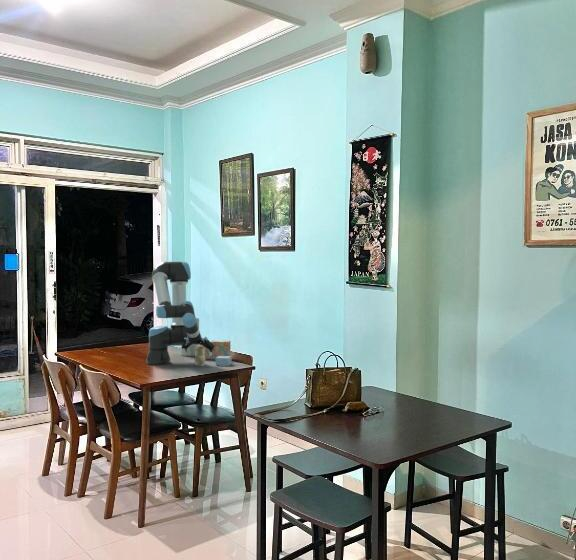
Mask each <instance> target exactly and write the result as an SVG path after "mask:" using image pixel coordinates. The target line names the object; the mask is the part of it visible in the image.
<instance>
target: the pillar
mask: <svg viewBox="0 0 576 560" xmlns="http://www.w3.org/2000/svg"><path fill="white" fill-rule="evenodd" d="M205 362H206V359H205V347H204V346H202V345H197V346H195V356H194V366H195V365H198V366H197V367H203V366H205V365H206V363H205ZM204 364H205V365H204Z"/></svg>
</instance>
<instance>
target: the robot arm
mask: <svg viewBox="0 0 576 560" xmlns="http://www.w3.org/2000/svg"><path fill="white" fill-rule="evenodd" d="M151 272H152V273H151V280H152V283H154V287H155V294H156V298H157V304H158V305H157V306H156V307H155V313H156V317H157V318H158V319H172V322H171V324H170V327H168V325H158V326H153V327H151V328H150V329H149V330H148V353H147V357H146V359H145V362H146V365H152V366H154V365H155V366H156V365H157V366H161V365H169V364H170V363H171V356H170V354H169V351H168V349H169V348H168V347H175V346H177V347H178V346H180V347H181V346H182V349H183V348H185V350H186V352H188V355H189V356H188V357H191V356H190V354H191V351H190V348H189V346H190V345H192V344H200V345H202V346H204V347H206V348H207V349H208V351H209V355H210V356H211V355H212V349H214V345H213V344H212V343H211V340H209V339H208V338H207V336H204V337H202V334H201V332H200V327H199V328H198V325H197V321H196V318H197V317H196V314H195V309H194V308H195V307H194V305H193V303H192V301H189V300H187V284H188V283H189V281H190V280H191V278H192V277H191V276H192V273H191V268H190V264H189V263H188V262H186V261H162V262H160V263H158V264H157V265H156V266H155V267H154V268H153V270H152V271H151ZM168 280H169V284H170V285H171V286H172V289H171V290H172V301H171V295H170V290H169V287H168Z"/></svg>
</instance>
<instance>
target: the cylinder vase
mask: <svg viewBox="0 0 576 560" xmlns="http://www.w3.org/2000/svg"><path fill="white" fill-rule="evenodd" d="M196 321H197V325H198V328H199V329H200V318H198V317H196ZM197 345H199V344H192V345H190V346H189V348H190V351H191V354H190V356H189V355H188V352H186V350H185V348H183V349H182V346H181V345H180V355H181V356H184V357H195V346H197Z"/></svg>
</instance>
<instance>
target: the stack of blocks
mask: <svg viewBox="0 0 576 560" xmlns="http://www.w3.org/2000/svg"><path fill="white" fill-rule="evenodd" d="M210 342H211V343H212V344H213V345H214V349H212V355H211V356H210V355H209V351H208V349H207V348H206V347H205V360H206V359H211V361H213V360H214V361H216V358H217V357H218V356H231V340H226V339H223V340H215V339H214V340H210ZM199 345H200V344H199Z"/></svg>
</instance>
